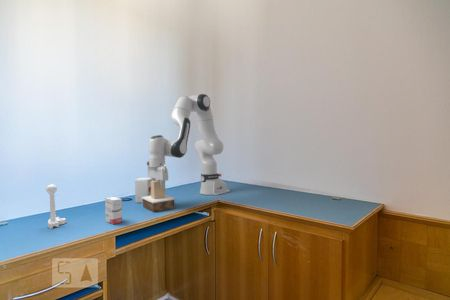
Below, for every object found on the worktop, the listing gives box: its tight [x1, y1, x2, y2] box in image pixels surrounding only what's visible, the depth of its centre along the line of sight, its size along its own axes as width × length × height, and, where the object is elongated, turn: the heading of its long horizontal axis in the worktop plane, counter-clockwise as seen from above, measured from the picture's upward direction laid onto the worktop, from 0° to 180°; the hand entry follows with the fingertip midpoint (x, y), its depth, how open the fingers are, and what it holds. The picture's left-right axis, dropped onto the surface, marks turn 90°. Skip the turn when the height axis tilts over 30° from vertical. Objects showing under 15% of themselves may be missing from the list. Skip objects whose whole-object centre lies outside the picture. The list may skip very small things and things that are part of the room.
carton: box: [151, 179, 166, 199], centre depth 171 cm, size 7×4×10 cm, turn 128°
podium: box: [142, 194, 176, 213], centre depth 172 cm, size 14×16×6 cm
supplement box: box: [134, 177, 152, 204], centre depth 187 cm, size 9×9×15 cm
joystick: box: [45, 184, 67, 230], centre depth 142 cm, size 11×8×20 cm
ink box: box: [104, 196, 123, 225], centre depth 146 cm, size 9×5×12 cm, turn 48°
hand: (158, 186), depth 171 cm, fingers open, 8 cm apart
